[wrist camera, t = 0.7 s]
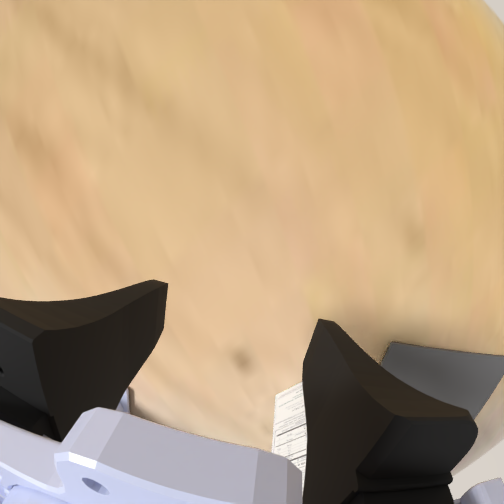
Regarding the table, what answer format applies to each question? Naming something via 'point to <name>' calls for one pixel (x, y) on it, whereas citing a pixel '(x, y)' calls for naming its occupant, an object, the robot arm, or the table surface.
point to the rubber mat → (446, 373)
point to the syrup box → (291, 427)
